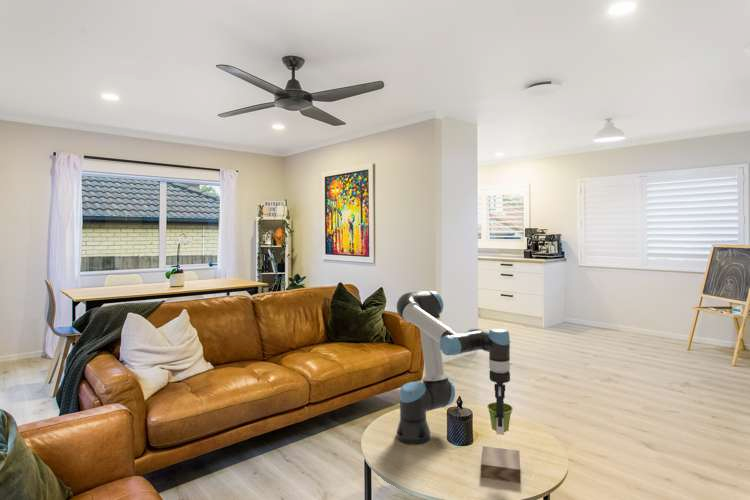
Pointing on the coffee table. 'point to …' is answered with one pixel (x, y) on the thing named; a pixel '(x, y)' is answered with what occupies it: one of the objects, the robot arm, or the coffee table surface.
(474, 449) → the coffee table surface
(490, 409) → the plant pot
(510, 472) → the block
